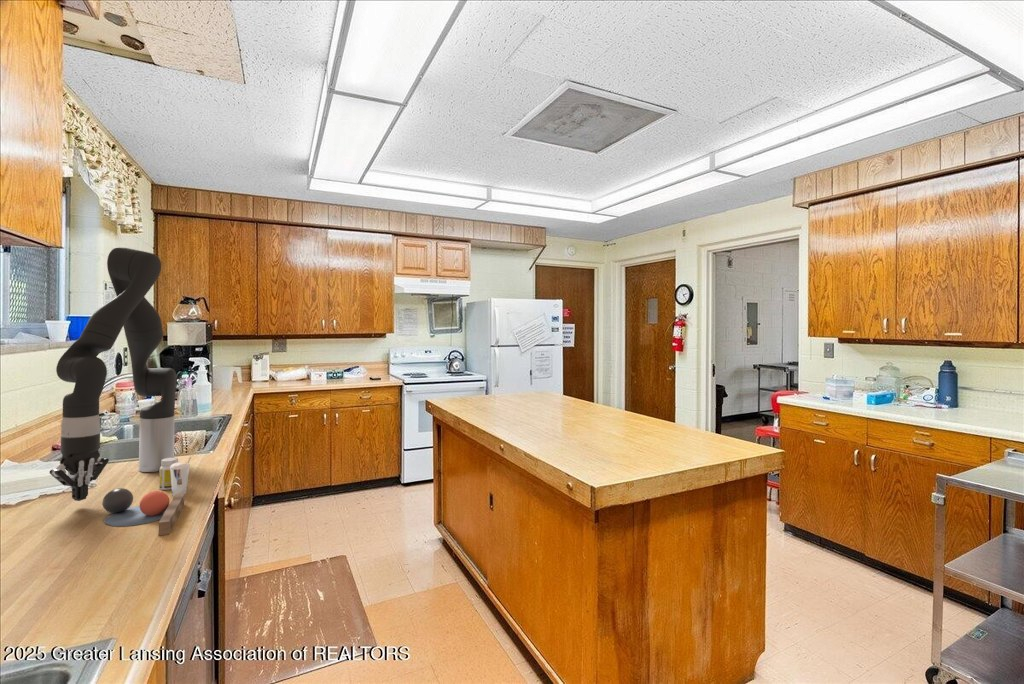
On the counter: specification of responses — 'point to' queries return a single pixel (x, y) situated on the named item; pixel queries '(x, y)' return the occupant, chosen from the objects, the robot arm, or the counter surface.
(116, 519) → the blue-grey flat disc
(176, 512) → the stopper rail
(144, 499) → the red ball
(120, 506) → the dark gray ball
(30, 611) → the counter surface
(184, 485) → the milkshake
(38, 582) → the counter surface
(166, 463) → the supplement bottle
